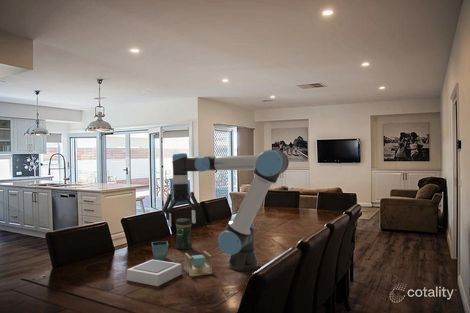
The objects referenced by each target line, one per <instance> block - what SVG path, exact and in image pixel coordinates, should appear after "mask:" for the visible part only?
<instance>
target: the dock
mask: <svg viewBox="0 0 470 313" xmlns="http://www.w3.org/2000/svg"><path fill="white" fill-rule="evenodd" d="M182 273H183V272H182V263H178V262H177V263H176V262H170V261H165V260H155V259H150V260H147V261H145V262H142V263H140V264H137V265H134V266H133V267H130V268H128V269H126V281H130V282H134V283H140V284H144V285H145V284H146V285H150V286H155V287H159V286H161V285H163V284H165V283H167V282H169V281H171V280H173V279H175V278H177V277H179V276H182Z"/></svg>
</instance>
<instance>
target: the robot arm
mask: <svg viewBox="0 0 470 313" xmlns="http://www.w3.org/2000/svg"><path fill="white" fill-rule="evenodd" d="M289 160H290V159H289V157H288V155H287V154H286V153H285V152H283V151H282V150H274V149H267V150H265V151H262V152H260V153H259V154H256V155H254V154H253V155H249V154H248V155H222V156H221V155H218V156H217V155H214V156H213V155H211V156H210V155H209V156H203V155H199V156H188V154H187V153H173V155H172V161H171V163H172V182H173V185H172V186H173V189H172V190H173V193H167V198H166V200H165V202H164V206H163V208H162V209H161V212H162V213H165V219H166V220H165V221H167V226H168V227H172V213H171V211H172V210H173V209H174V207H175V206H176V204H178V203H180V202H185V203H187V204H188V206H190V208H191V209H192V210H191V224H196V222H197V221H196V217H197V216H198V215H197V214H198V212H197V211H198V210H199V209H200V208H201V206H200V204H199V202H198V201H197V198H196V196H195V193H194V191H190V192H189V184H188V182H189V178H188V176H189V173H188V172H190V173H191V172H200V173H201V172H206V171H207V172H208V171H253V172H252V173H253V179H252V181H251V182H250V185H249V187H248V189H247V191H246V193H245V195H244V197H243V199H242V202H241V203H240V205H239V208H238V210H237V212H236V214H235V216H234V218H233V219H232V220H229V221H228V223H227V224H226V227H225V229H224V231H222V232H221V233H220V234H219V235H218V239H217V244H218V247H219V249H220V250H221V252H223V253H224V254H226V255H228V256H230V257H229V261H228V268H229V269H231V270H233V271H240V272H241V271H242V272H243V271H244V272H245V271H253V270H256V269H258V267H259V262H258V258H257V255H256V252H255V224H254V219H255V218H256V216H257V213H258V212H259V210H260V208H261V206H262V203H263V202H264V200H265V198H266V196H267V193H268V191H269V189H270V188H271V186H272V185H273V184H276V183H277V181H278V179H279V178H280V175H281V174H283V173H285V171H287V169H288V168H289V163H290V161H289ZM189 197H190V198H189ZM172 199H173V200H172ZM190 199H191V200H190Z"/></svg>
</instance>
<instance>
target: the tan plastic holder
mask: <svg viewBox="0 0 470 313" xmlns="http://www.w3.org/2000/svg"><path fill="white" fill-rule="evenodd" d="M202 255H203V256H204V257H205V266H197V267H194V266H193V265H192V258H191V255H189V253H187V252H185V253H184V263H183V264H184V266H183V269H184V271H185V272H186V273H187V274H188V275H189V277H196V276H197V277H199V276H205V275H211V274H213V266H212V265H213V264H212V262H213V260H212V255H211V254H210V253H209V252H207V251H206V250H203V251H202Z"/></svg>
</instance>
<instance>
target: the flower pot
mask: <svg viewBox="0 0 470 313" xmlns="http://www.w3.org/2000/svg"><path fill="white" fill-rule="evenodd" d="M151 250H152V251H151V252H152V254H153V258H154V260H159V261H165V260H166V259H167V257H168V254H169V243H168V240H163V241H152V242H151Z"/></svg>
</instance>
